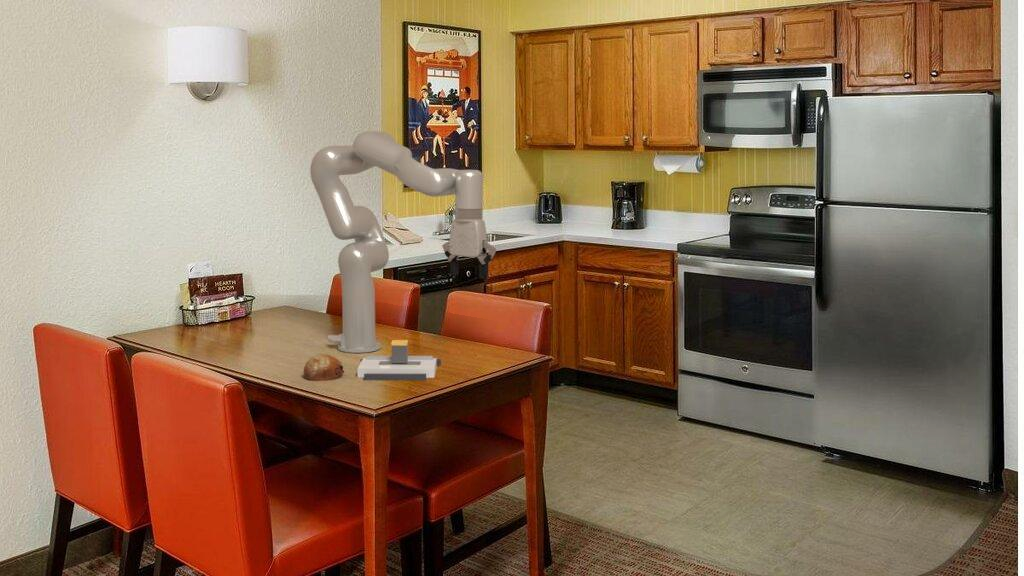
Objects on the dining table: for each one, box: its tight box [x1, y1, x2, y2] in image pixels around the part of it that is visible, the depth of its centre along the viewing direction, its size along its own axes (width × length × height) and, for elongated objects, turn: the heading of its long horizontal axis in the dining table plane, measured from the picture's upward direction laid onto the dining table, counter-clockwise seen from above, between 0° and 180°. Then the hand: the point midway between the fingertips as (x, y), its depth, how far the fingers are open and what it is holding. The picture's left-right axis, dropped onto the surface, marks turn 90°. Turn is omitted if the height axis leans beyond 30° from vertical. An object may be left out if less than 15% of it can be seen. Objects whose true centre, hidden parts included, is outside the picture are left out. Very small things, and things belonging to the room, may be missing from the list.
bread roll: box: [303, 353, 345, 382], centre depth 253 cm, size 10×10×8 cm
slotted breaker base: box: [357, 355, 438, 379], centre depth 258 cm, size 20×12×3 cm, turn 91°
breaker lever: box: [391, 339, 409, 363], centre depth 258 cm, size 4×3×6 cm
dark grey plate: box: [360, 358, 442, 381], centre depth 259 cm, size 22×18×1 cm
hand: (468, 276), depth 268 cm, fingers open, 9 cm apart
